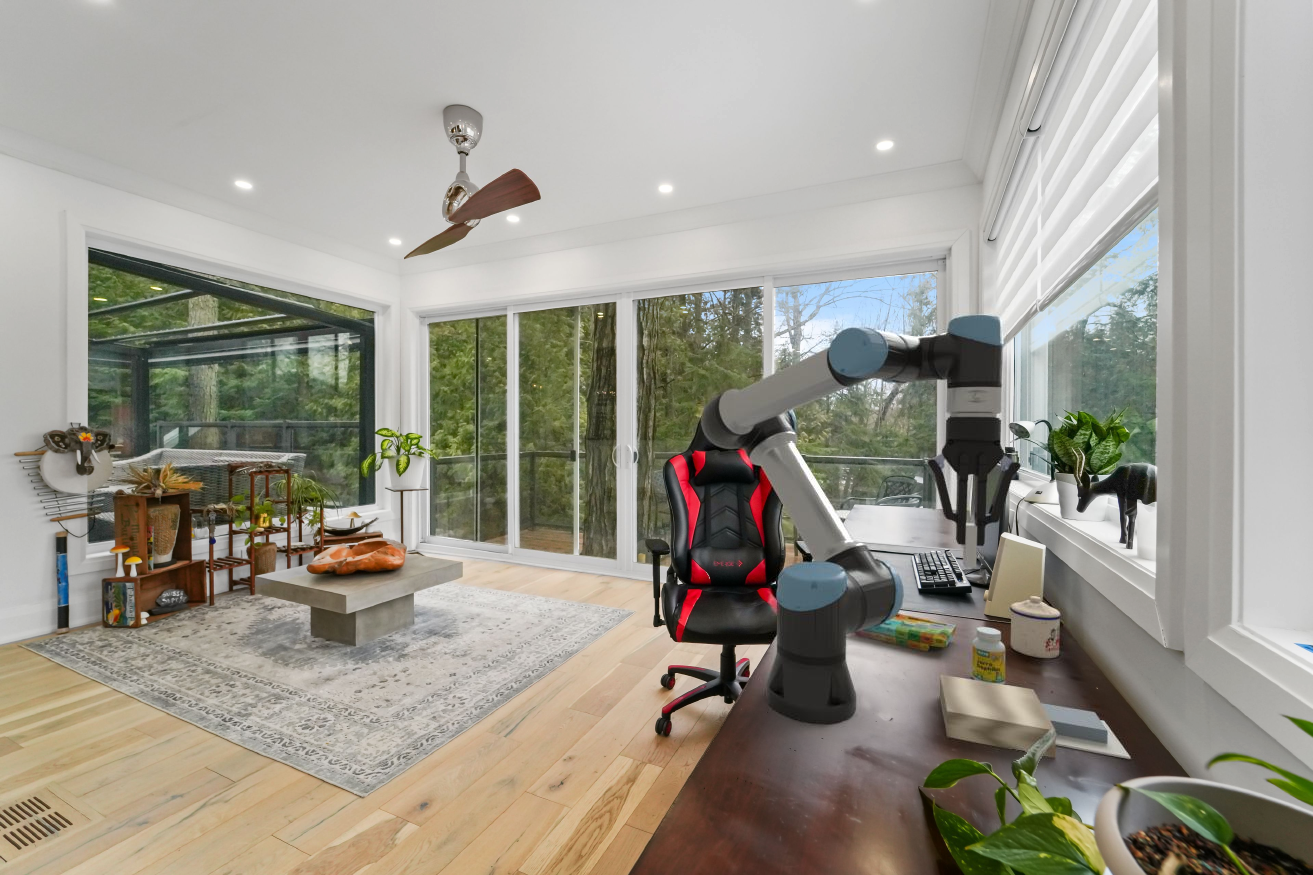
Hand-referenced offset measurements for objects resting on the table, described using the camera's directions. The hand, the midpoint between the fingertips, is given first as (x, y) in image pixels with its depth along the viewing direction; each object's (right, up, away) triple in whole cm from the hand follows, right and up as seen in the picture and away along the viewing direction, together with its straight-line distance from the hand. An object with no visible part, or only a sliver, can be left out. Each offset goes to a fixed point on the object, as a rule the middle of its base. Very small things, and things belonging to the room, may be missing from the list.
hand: (969, 565), depth 88 cm
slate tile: (+16, -26, +1) cm, 31 cm away
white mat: (+17, -26, 0) cm, 31 cm away
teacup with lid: (+33, -26, +34) cm, 54 cm away
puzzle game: (+7, -26, +39) cm, 48 cm away
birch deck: (+5, -26, +2) cm, 27 cm away
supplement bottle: (+14, -26, +18) cm, 35 cm away
